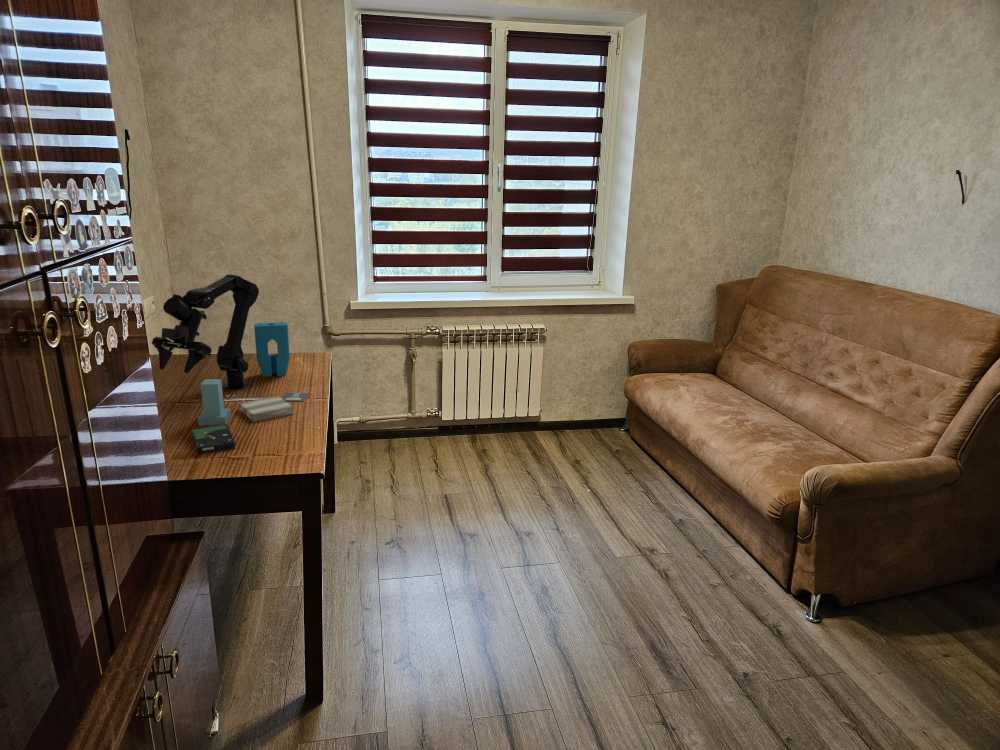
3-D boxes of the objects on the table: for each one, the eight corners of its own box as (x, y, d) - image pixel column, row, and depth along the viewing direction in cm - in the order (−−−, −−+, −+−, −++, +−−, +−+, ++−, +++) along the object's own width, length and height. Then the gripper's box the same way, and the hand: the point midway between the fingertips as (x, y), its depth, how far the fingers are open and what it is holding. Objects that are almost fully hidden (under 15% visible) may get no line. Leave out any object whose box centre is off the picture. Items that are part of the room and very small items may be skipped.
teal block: (204, 416, 215) (200, 378, 211) (230, 415, 216) (227, 377, 212) (198, 425, 207) (194, 386, 203) (225, 424, 209) (221, 385, 205)
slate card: (286, 393, 237) (286, 392, 237) (308, 394, 238) (308, 392, 238) (280, 401, 230) (280, 400, 230) (303, 401, 230) (303, 400, 230)
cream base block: (240, 411, 221) (239, 402, 220) (278, 403, 229) (277, 395, 228) (254, 423, 212) (253, 414, 211) (293, 415, 220) (292, 406, 219)
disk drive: (236, 450, 193) (227, 431, 205) (235, 441, 192) (227, 423, 204) (197, 456, 188) (191, 437, 200) (196, 447, 187) (190, 428, 199)
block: (290, 371, 262) (287, 322, 256) (290, 375, 257) (287, 325, 251) (258, 373, 258) (254, 323, 252) (258, 377, 253) (254, 326, 247)
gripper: (148, 313, 211) (131, 359, 206) (197, 319, 206) (181, 366, 202) (171, 327, 221) (155, 370, 216) (219, 332, 216) (204, 377, 212)
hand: (173, 371), depth 211 cm, fingers open, 9 cm apart
